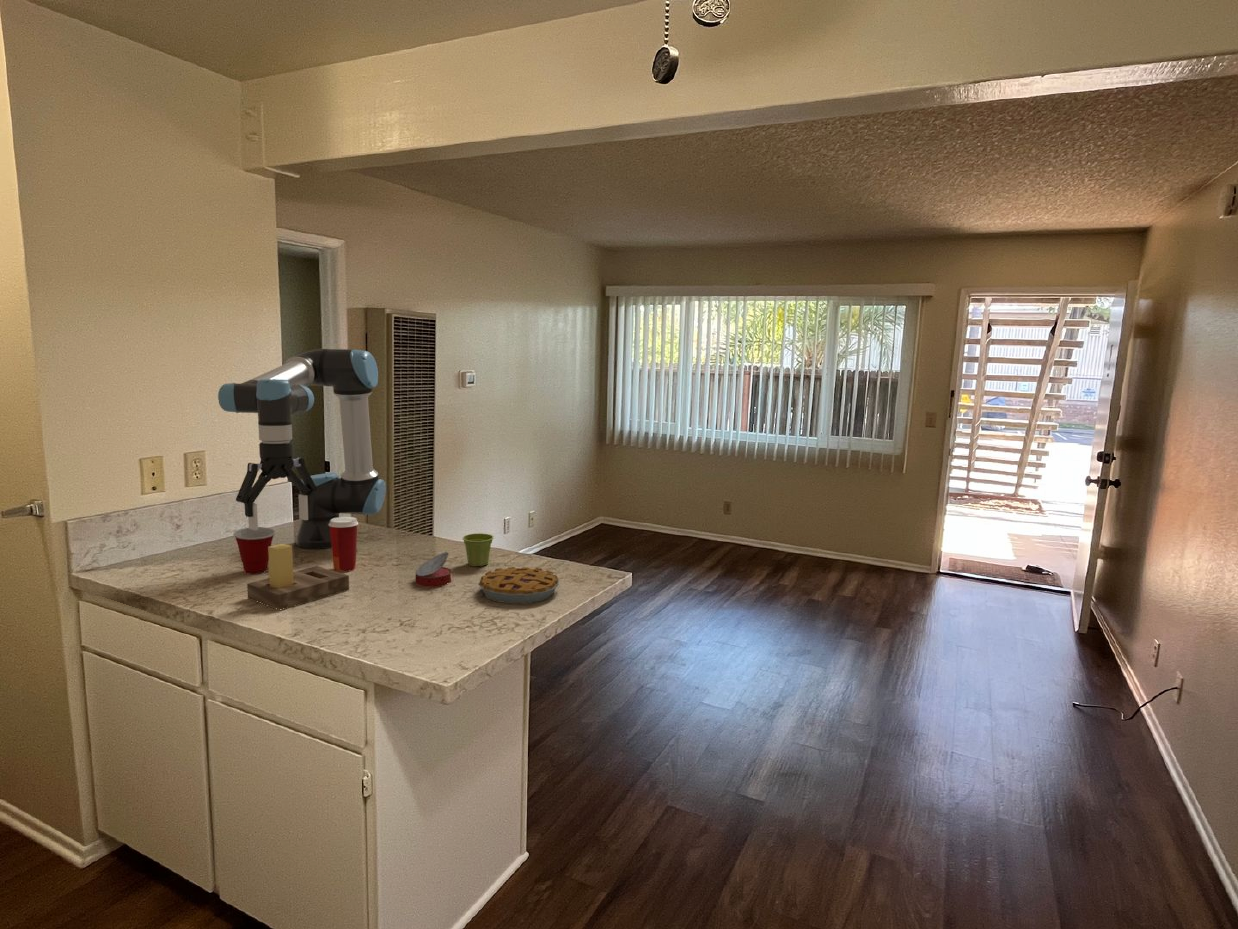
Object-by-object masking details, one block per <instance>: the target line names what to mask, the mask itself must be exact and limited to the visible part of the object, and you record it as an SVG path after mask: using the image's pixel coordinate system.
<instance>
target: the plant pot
mask: <svg viewBox="0 0 1238 929" xmlns="http://www.w3.org/2000/svg"><path fill="white" fill-rule="evenodd" d="M494 537H495V536H493V535H492V534H490V533H483V532H482V533H481V532H479V533H469V534H465V535H463V536H462V541H463V544H464V546H465V551H466V552H465V553H466V557H467V558H466V559H467V564H469V566H471V565H472V566H471V567H473V566H481V567H482V566H484V565H486V564H487V565H489V561H490V552H491V545H492V544H493V540H494ZM487 565H486V566H487Z"/></svg>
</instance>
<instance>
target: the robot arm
mask: <svg viewBox="0 0 1238 929" xmlns="http://www.w3.org/2000/svg"><path fill="white" fill-rule="evenodd" d="M378 382H379V369H378V365H377V362H376V360H375V356H373V355H372V353H371V352H369V351H366V350H362V349H354V348H353V349H352V348H350V349H348V348H347V349H346V348H345V349H343V348H318V349H312V350H309V351H304V352H302V353H300V354H297V355H294V356H291V357H289V358H288V359H286V360H285V362H284V364H283V365H280V366H278V367H275V368H273V369H271V370H269V371H266V372H263V373H262V374H260V375H258V376H256V377H255V376H254V377H253V378H251V379H249V380H245V381H244V382H241V383H237V382H236V383H235V382H233V383H223V384H222V385H221V386H220V388H219V390H218V394H217V399H218V404H219V407H220V408H221V409H222V411H225V412H228V413H229V412H231V413H236V414H239V413H244V414H246V413H247V414H248V413H249V414H250V413H251V414H257V419H258V421H257V422H258V423H257V424H258V426H257V427H258V441H260V442H259V444H258V446H259V447H258V449H259V450H258V451H259V457H260V462H259V463H253V462H248V463H247V468H246V474H245V476H244V478H243V481H242V483H241V486H240V487H239V490H238V492H237V495H236V498H235V501H236V502H237V503H241V504H242V503H243V504H244V515H245V517H247V518H248V528H249V529H252V530H258V527H259V522H258V521H259V520H258V519H259V518H258V504H257V503H256V502H255V501H256V500H257V499H258V497H259V496H260V494H261V493H262V491H263V490H264V488H265V487H266V486H267V484H268V483H269V482H270V481H271V480H278V479H279V478H280V479H284V478H287V479H288V480H289V482H290V483H292V484H293V485H294V486H295V487H296V489H297V490H298V491H299V493H300V494H298V513H299V514H298V516H299V519H300V520H301V522H300V525H299V529H298V531H297V535H296V538H295V541H296V546H297V547H299V548H302V549H310V550H312V549H313V550H315V549H329V548H332V545H331V534H330V526H329V525H328V524H329V523H330V521H331V519H333V518H338V517H340V514H346V515H350V514H351V515H352V514H353V515H363V516H365V515H366V516H367V515H375V514H377V513H379V512H380V510H381V509H382V507H383V505H384V502H385V499H386V493H387V492H386V491H387V487H386V486H387V485H386V482H385V480H384V479H381V478H379V472H378V471H377V470H375V469H374V465H373V451H372V437H371V436H372V435H371V434H372V433H371V423H370V408H369V407H370V406H369V397H370V396H371V394H373V389H374V388H376V387H377V385H378ZM309 386H310V387H311V386H317V387H319V386H320V387H332V389H333V395H335V396H336V397H337V398H338V400H339V401H338V402H339V410H340V411H339V413H340V423H341V424H340V426H341V435H342V438H341V439H342V446H343V447H342V449H343V460H344V471H343V472H342V473H341V474H340V475H339V474H338V473H337V472H327V473H320V474H319V473H318V474H314V475H311V474H310V473H309V471H308V469H307V467H306V462H305V458H304V457H295V458H293V455H294V450H293V448H294V447H293V446H294V445H293V442H292V440H293V424H292V415H293V416H294V415H301V414H305V413H306V412H308V411H309V410H311V409H312V407H313V406H314V403H315V396H314V393H313V391H312V390H311V389H310V388H309ZM293 467H295V469H296V470H297V473H298V474H299V476H300V478H301V479H300V478H299V477H298V476H297V475H296V473H295V472H294V471H293V469H292V468H293ZM258 472H260V474H259V475H258ZM257 475H258V476H257ZM256 479H257V480H256Z"/></svg>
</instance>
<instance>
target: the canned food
mask: <svg viewBox="0 0 1238 929" xmlns="http://www.w3.org/2000/svg"><path fill="white" fill-rule="evenodd" d="M448 556H449V553H448V551H445V552H441V553H439V554H437V555H435V556H434V557H432V558H430V559H428V560H427V561H425V562H424V563H422V564H421V565H419V566H418V568H417V569H416V571H415V584H416V585H417V584H418V586H420V587H423V588H424V587H426V588H436V587H437V588H438V587H443V586H446V585H445V584H447V583H449V584H450V583H451V582H452V570H451V569H450V568H448V567H444V565H445V564H446V562H447V559H448ZM442 585H443V586H442ZM447 585H448V584H447Z"/></svg>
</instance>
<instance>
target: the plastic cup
mask: <svg viewBox="0 0 1238 929" xmlns="http://www.w3.org/2000/svg"><path fill="white" fill-rule="evenodd" d="M275 534H276V530H275V529H273V528H270V527H266V526H258V530H252V529H249V527H243V528H240V529H237V530H235V531H234V532H233V534H232V535H233V536H234V538H235V541H236V544H237V547H238V551H239V556H240V560H241V563H242V566H243V571H244V573H245V572H246V573H245V574H247V573H250V574H249V575H256V574H255V573H258V574H262V573H261V572H263V573H265V572H267V571H266V570H268V569H269V553H268V547H270V546H272V542H273V538H274V536H275ZM264 571H265V572H264Z"/></svg>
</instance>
